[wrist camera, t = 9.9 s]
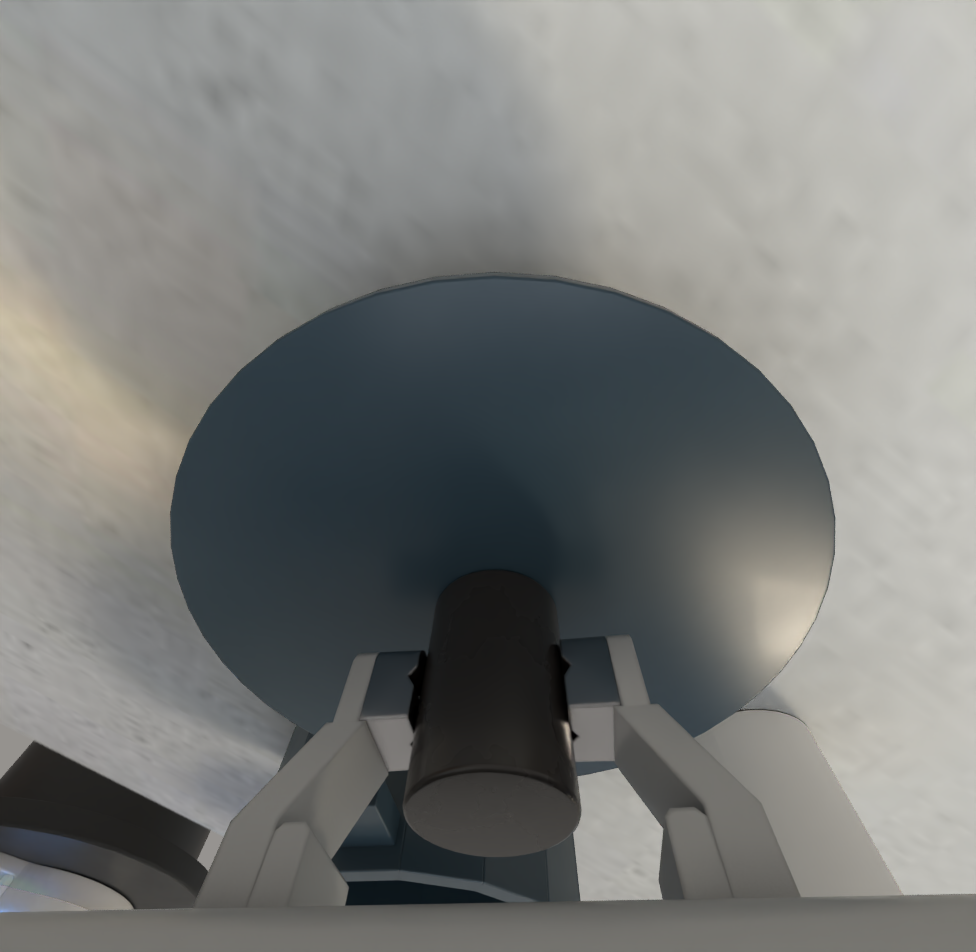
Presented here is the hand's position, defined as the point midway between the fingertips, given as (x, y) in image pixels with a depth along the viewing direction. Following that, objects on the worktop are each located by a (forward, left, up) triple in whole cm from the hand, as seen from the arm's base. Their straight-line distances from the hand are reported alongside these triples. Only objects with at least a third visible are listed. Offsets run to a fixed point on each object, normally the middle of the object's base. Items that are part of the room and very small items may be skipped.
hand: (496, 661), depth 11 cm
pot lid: (0, 0, -2) cm, 2 cm away
